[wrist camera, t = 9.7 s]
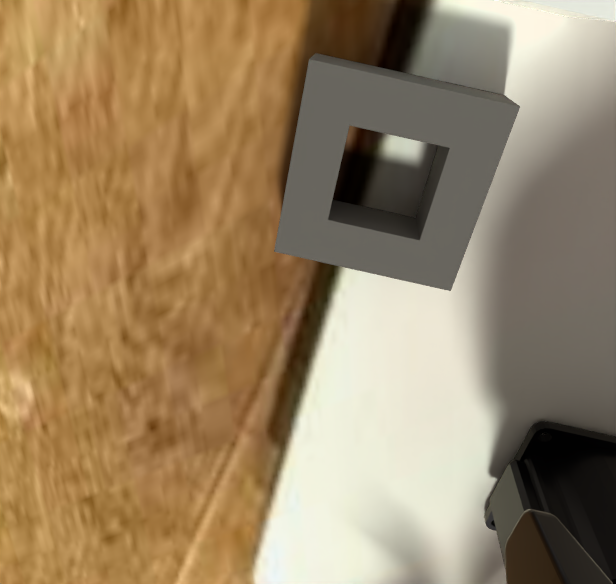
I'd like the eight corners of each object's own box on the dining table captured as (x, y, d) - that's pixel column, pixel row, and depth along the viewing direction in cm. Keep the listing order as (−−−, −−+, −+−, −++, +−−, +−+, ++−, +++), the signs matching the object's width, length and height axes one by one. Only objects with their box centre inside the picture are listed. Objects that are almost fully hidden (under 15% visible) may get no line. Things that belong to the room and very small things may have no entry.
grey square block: (504, 95, 17) (519, 106, 15) (443, 264, 20) (450, 290, 18) (315, 53, 17) (309, 59, 15) (282, 229, 20) (274, 251, 18)
